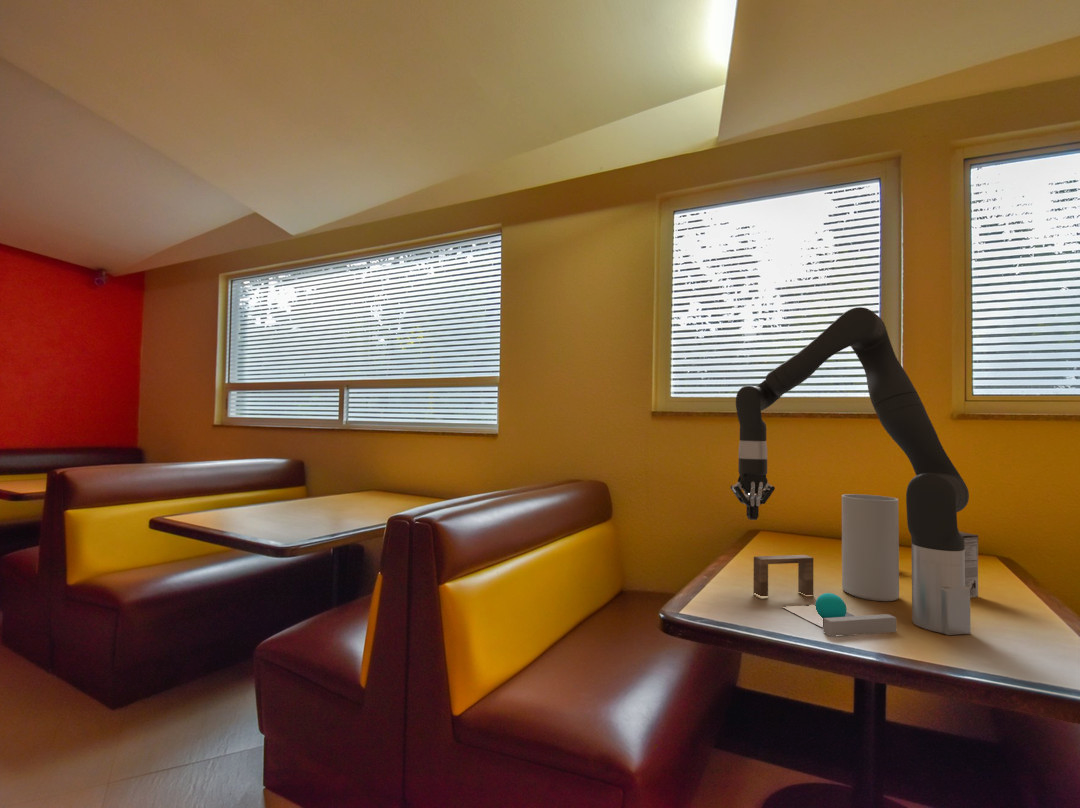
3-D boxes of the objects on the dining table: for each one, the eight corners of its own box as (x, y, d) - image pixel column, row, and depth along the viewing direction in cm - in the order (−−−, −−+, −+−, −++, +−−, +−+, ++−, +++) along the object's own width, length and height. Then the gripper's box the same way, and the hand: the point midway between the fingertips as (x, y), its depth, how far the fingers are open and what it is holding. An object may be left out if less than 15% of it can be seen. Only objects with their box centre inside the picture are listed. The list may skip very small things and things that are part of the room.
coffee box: (926, 588, 142) (925, 528, 143) (942, 586, 144) (941, 527, 145) (963, 599, 134) (962, 535, 134) (979, 597, 136) (978, 534, 137)
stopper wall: (896, 631, 110) (896, 617, 110) (830, 636, 107) (830, 621, 107) (888, 628, 112) (887, 614, 112) (823, 632, 109) (823, 618, 109)
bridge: (813, 596, 133) (813, 557, 133) (760, 599, 130) (761, 559, 130) (805, 592, 136) (805, 554, 136) (753, 595, 133) (753, 556, 133)
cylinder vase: (831, 590, 138) (831, 495, 140) (860, 584, 144) (860, 493, 145) (880, 605, 127) (880, 501, 129) (909, 598, 133) (908, 499, 134)
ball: (852, 596, 114) (832, 590, 119) (827, 595, 113) (808, 590, 118) (853, 625, 113) (834, 618, 118) (828, 625, 112) (809, 618, 117)
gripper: (739, 457, 142) (739, 522, 141) (782, 458, 145) (782, 521, 144) (724, 456, 149) (723, 517, 148) (765, 456, 152) (765, 516, 151)
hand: (752, 519), depth 146 cm, fingers closed
